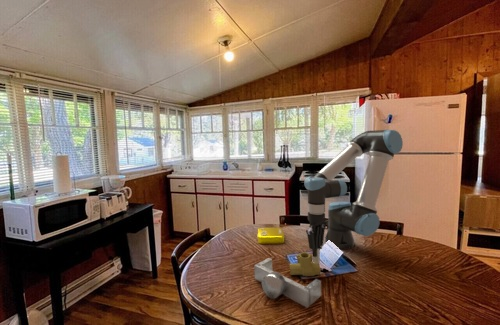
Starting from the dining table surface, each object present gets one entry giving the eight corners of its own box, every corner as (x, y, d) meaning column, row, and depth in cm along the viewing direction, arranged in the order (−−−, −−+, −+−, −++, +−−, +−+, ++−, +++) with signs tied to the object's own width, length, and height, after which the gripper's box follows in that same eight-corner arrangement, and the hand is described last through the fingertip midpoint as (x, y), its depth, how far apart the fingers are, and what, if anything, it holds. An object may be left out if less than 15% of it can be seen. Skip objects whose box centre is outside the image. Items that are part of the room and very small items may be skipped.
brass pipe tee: (321, 280, 104) (318, 265, 113) (320, 259, 101) (316, 245, 111) (290, 280, 106) (290, 265, 115) (288, 259, 103) (288, 246, 113)
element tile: (284, 244, 139) (284, 235, 139) (258, 244, 140) (257, 236, 139) (282, 233, 154) (281, 226, 154) (258, 234, 155) (257, 226, 154)
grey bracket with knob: (269, 270, 111) (268, 253, 110) (320, 296, 92) (320, 275, 91) (246, 283, 102) (245, 265, 101) (298, 315, 83) (298, 292, 82)
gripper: (316, 207, 119) (316, 255, 121) (300, 213, 110) (300, 264, 112) (331, 210, 113) (330, 260, 116) (315, 217, 105) (315, 270, 107)
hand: (316, 262), depth 114 cm, fingers closed
